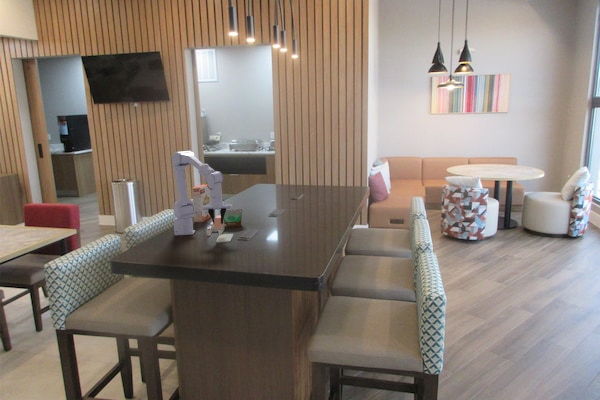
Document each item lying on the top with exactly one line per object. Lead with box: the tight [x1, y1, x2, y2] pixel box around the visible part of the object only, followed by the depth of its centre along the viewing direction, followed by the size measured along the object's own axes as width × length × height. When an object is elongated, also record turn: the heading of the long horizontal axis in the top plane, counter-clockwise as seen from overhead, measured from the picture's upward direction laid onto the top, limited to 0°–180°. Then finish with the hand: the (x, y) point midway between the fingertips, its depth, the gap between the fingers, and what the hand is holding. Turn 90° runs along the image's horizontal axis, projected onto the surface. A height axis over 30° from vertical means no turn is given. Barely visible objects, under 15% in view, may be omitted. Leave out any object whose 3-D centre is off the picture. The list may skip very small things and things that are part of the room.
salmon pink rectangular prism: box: [214, 214, 225, 228], centre depth 215 cm, size 3×10×5 cm, turn 2°
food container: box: [224, 207, 244, 229], centre depth 239 cm, size 12×6×10 cm, turn 105°
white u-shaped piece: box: [206, 221, 226, 237], centre depth 229 cm, size 7×13×4 cm, turn 2°
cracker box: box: [191, 183, 212, 223], centre depth 258 cm, size 14×6×21 cm, turn 168°
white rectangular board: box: [215, 233, 234, 243], centre depth 216 cm, size 7×13×1 cm, turn 2°
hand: (218, 223), depth 212 cm, fingers closed on salmon pink rectangular prism, 3 cm apart
